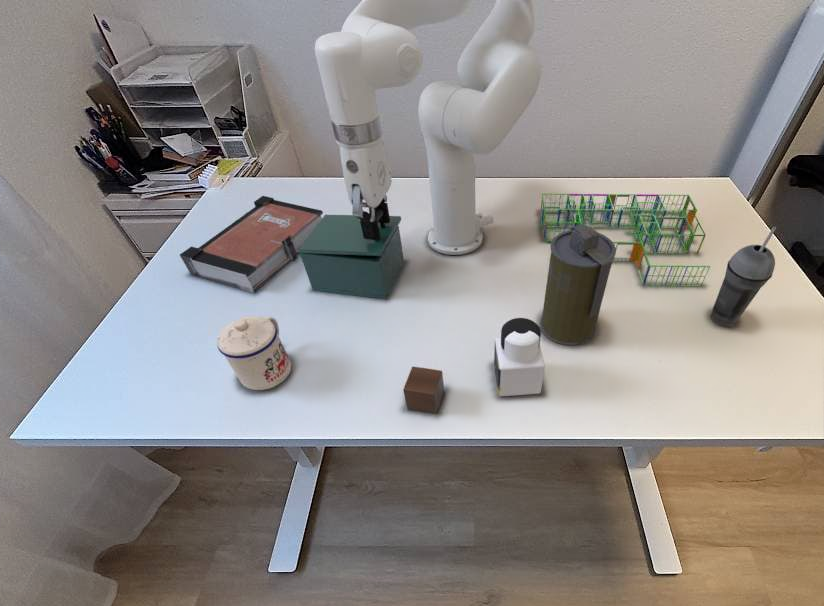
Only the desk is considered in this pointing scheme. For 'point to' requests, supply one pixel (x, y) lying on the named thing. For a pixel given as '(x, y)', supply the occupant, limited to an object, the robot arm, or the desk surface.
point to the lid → (348, 235)
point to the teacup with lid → (255, 351)
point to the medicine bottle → (519, 358)
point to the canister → (576, 284)
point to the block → (424, 389)
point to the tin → (356, 271)
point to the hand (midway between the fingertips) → (377, 229)
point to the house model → (638, 247)
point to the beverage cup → (743, 282)
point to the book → (254, 245)
